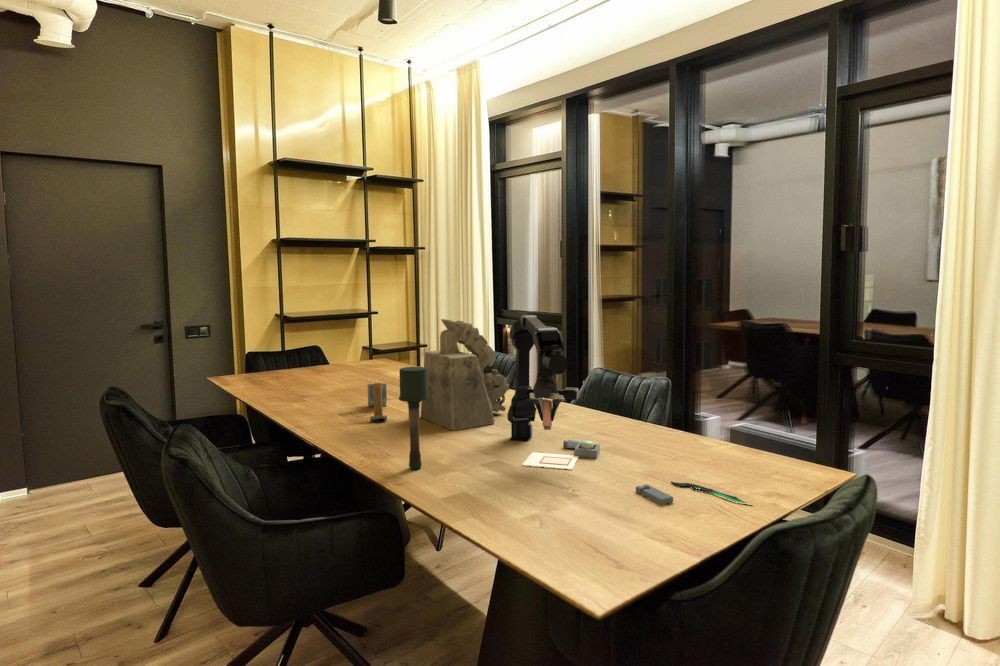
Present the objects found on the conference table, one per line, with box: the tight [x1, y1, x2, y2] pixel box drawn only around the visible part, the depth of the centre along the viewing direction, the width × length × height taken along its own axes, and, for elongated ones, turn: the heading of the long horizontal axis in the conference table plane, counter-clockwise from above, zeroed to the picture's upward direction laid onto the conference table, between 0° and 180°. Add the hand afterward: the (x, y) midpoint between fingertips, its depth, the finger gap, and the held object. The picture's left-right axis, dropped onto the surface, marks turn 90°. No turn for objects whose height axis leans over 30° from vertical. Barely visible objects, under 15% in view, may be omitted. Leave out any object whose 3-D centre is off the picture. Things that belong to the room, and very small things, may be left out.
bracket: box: [635, 484, 674, 506], centre depth 157 cm, size 4×10×2 cm, turn 25°
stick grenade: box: [398, 366, 428, 471], centre depth 180 cm, size 8×9×30 cm
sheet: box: [521, 452, 580, 471], centre depth 187 cm, size 15×13×1 cm
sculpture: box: [420, 318, 510, 431], centre depth 242 cm, size 27×33×40 cm
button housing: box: [573, 443, 601, 459], centre depth 194 cm, size 7×7×2 cm
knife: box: [670, 481, 747, 503], centre depth 159 cm, size 23×1×5 cm
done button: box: [580, 439, 595, 449], centre depth 193 cm, size 4×4×2 cm
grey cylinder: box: [562, 439, 582, 449], centre depth 200 cm, size 9×3×3 cm
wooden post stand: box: [367, 382, 388, 421], centre depth 253 cm, size 8×17×30 cm
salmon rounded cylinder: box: [542, 398, 553, 431], centre depth 184 cm, size 3×3×9 cm
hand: (547, 420), depth 185 cm, fingers closed on salmon rounded cylinder, 3 cm apart
